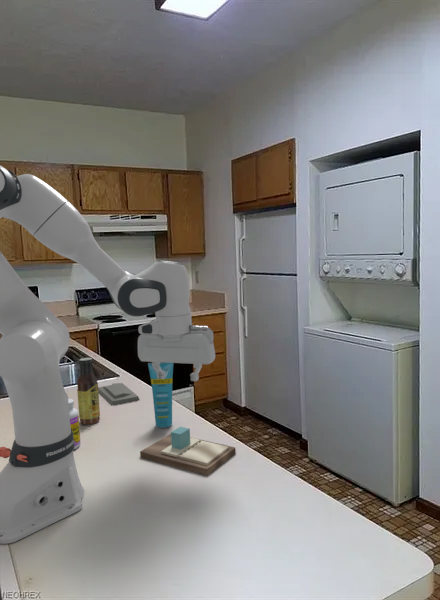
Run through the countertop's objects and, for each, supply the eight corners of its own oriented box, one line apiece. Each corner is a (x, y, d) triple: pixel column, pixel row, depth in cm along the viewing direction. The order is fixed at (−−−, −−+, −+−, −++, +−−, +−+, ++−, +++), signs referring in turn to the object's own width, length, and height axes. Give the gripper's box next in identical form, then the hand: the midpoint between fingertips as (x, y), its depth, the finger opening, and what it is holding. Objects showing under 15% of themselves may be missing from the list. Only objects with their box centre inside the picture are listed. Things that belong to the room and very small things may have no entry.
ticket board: (207, 475, 107) (206, 466, 107) (140, 457, 118) (139, 448, 118) (235, 453, 118) (235, 444, 118) (172, 438, 129) (171, 430, 129)
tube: (151, 429, 136) (147, 365, 134) (151, 423, 141) (148, 361, 139) (177, 427, 137) (173, 363, 135) (176, 421, 142) (173, 359, 140)
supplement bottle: (73, 453, 122) (69, 406, 121) (50, 452, 124) (46, 405, 122) (85, 442, 129) (81, 397, 127) (63, 441, 130) (59, 397, 129)
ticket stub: (177, 457, 114) (176, 439, 113) (161, 453, 116) (160, 435, 116) (200, 442, 122) (199, 425, 122) (185, 438, 125) (184, 422, 124)
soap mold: (123, 387, 181) (123, 379, 180) (140, 401, 163) (139, 392, 163) (97, 392, 176) (96, 383, 175) (111, 407, 158) (110, 397, 158)
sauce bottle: (97, 425, 141) (92, 361, 139) (76, 426, 141) (71, 362, 139) (103, 417, 148) (98, 356, 145) (83, 418, 148) (78, 357, 146)
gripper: (217, 323, 115) (220, 378, 116) (145, 322, 122) (149, 373, 124) (207, 328, 109) (211, 385, 111) (132, 327, 116) (136, 380, 118)
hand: (177, 379), depth 117 cm, fingers open, 8 cm apart
